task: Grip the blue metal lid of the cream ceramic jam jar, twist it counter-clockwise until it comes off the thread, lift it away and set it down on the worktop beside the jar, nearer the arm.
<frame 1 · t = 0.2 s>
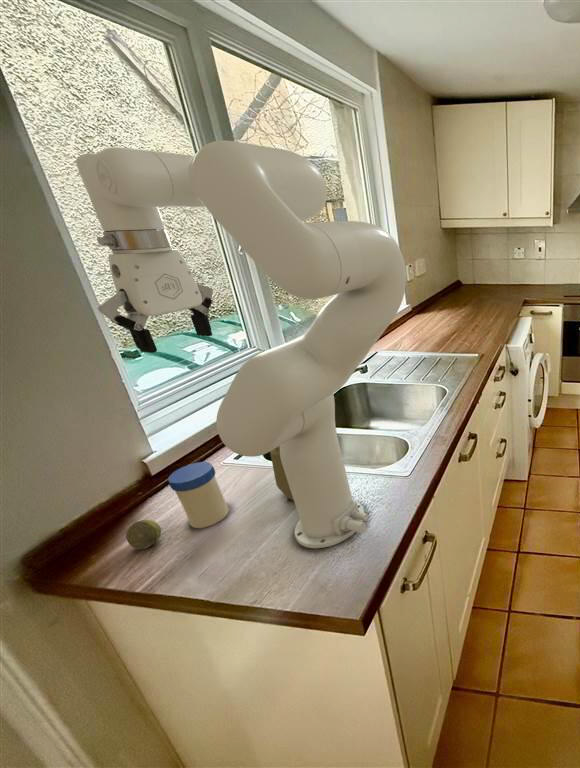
hand: (178, 343, 70), 36 cm above the counter, tool pointing down, fingers open, 9 cm apart
squeeze bottle: (301, 492, 87), on the counter
lime: (149, 544, 74), on the counter
lid: (191, 473, 76), point 11 cm above the counter, screwed on, not yet turned
jar: (210, 516, 80), on the counter
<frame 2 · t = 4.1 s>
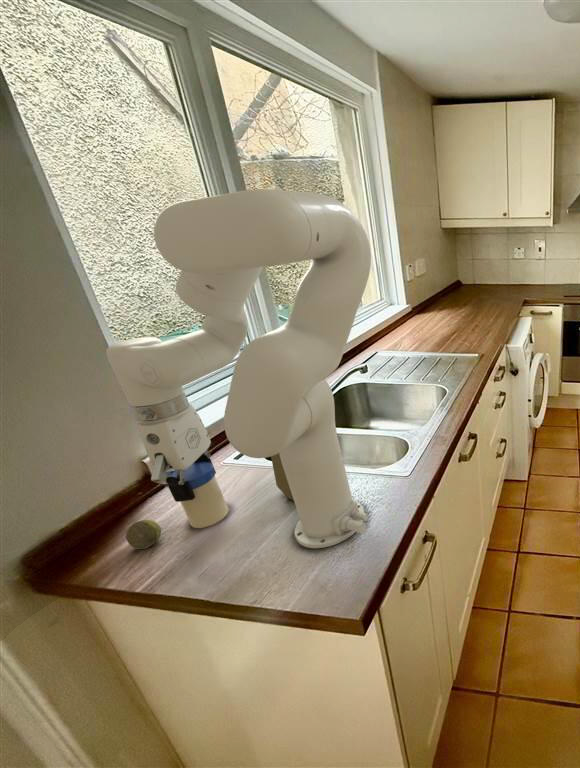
hand: (196, 486, 77), 8 cm above the counter, tool pointing down, fingers closed on lid, 6 cm apart
lid: (191, 473, 76), point 11 cm above the counter, screwed on, not yet turned, touching gripper
everything else where it was.
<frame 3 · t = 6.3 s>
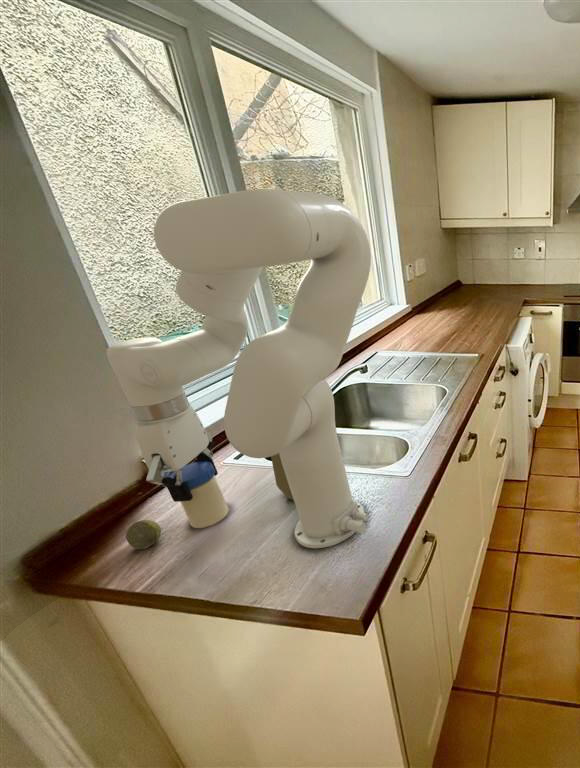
hand: (197, 486, 77), 8 cm above the counter, tool pointing down, fingers closed on lid, 6 cm apart
lid: (191, 473, 76), point 11 cm above the counter, off its thread, touching gripper
everything else where it was.
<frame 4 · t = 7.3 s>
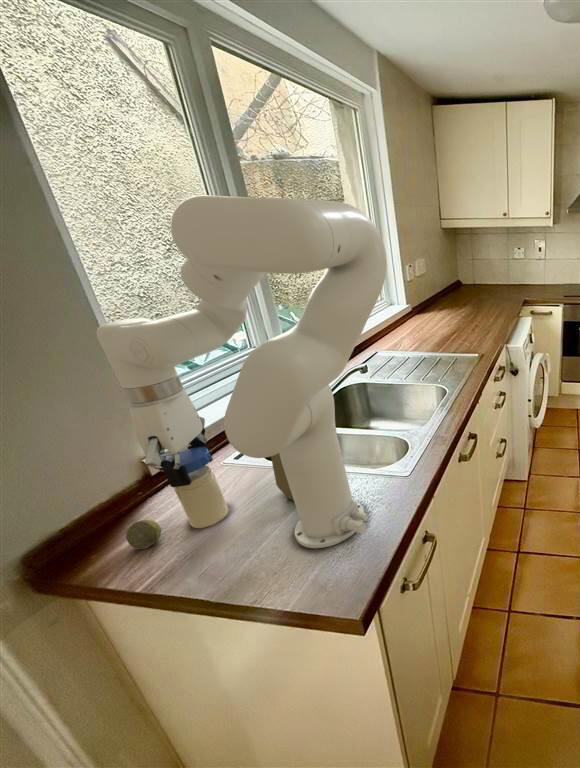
hand: (193, 472, 76), 11 cm above the counter, tool pointing down, fingers closed on lid, 6 cm apart
lid: (186, 458, 74), point 14 cm above the counter, off its thread, touching gripper
everything else where it was.
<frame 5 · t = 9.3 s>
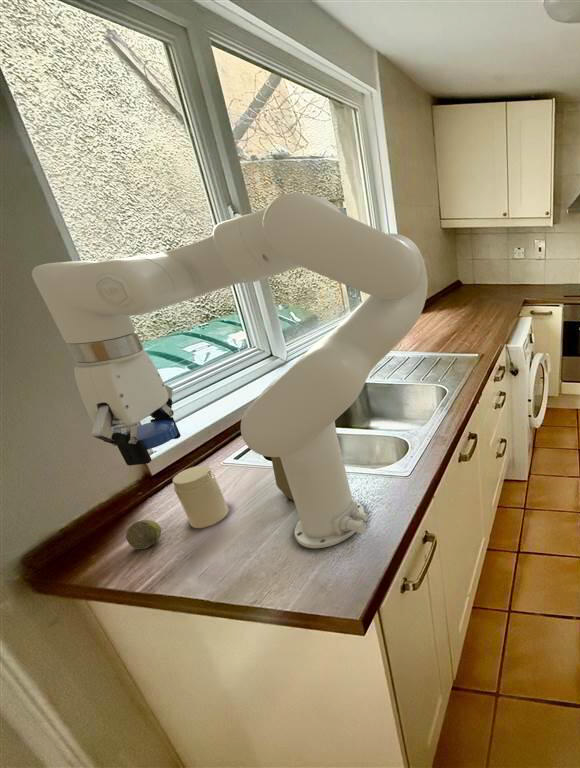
hand: (155, 449, 65), 21 cm above the counter, tool pointing down, fingers closed on lid, 6 cm apart
lid: (147, 432, 64), point 24 cm above the counter, off its thread, touching gripper
everything else where it was.
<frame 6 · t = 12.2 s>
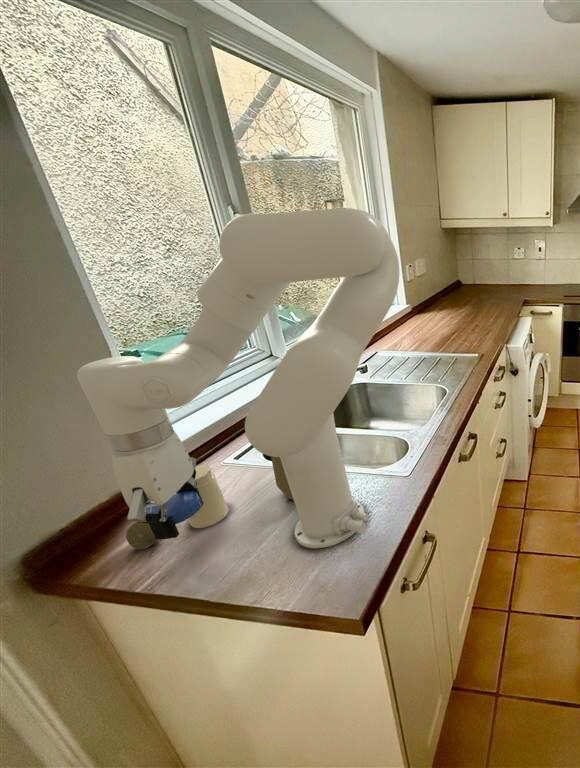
hand: (181, 520, 69), 7 cm above the counter, tool pointing down, fingers closed on lid, 6 cm apart
lid: (174, 506, 68), point 10 cm above the counter, off its thread, touching gripper
everything else where it was.
when the fingers open (0 cm above the counter, at t = 14.6 s): lid drops 2 cm, point 1 cm above the counter.
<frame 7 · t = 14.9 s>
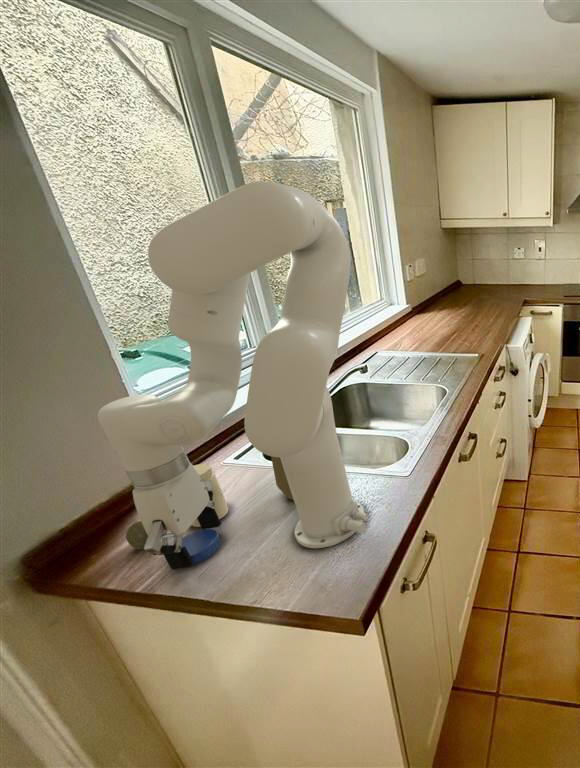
hand: (198, 545, 71), 1 cm above the counter, tool pointing down, fingers open, 9 cm apart
lid: (195, 544, 71), point 1 cm above the counter, off its thread
everything else where it was.
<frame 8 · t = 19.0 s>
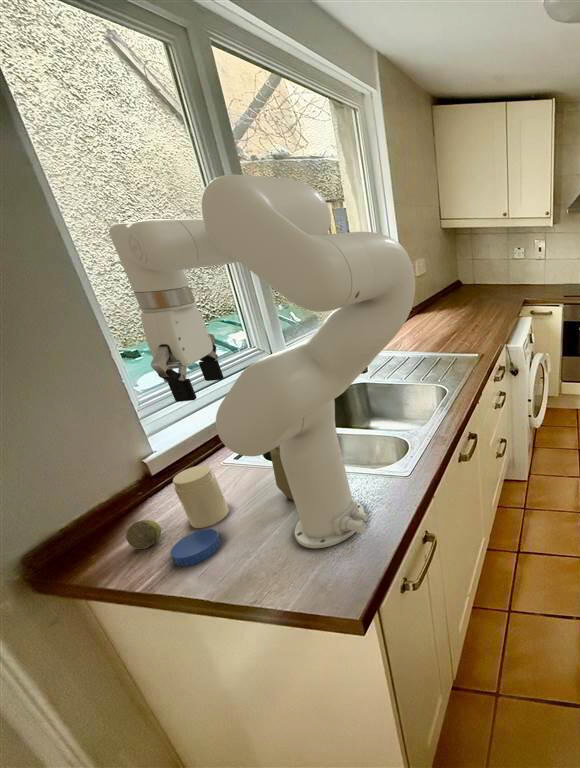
hand: (201, 389, 74), 26 cm above the counter, tool pointing down, fingers open, 9 cm apart
nothing on the counter moved.
at the end: lid point 1.5 cm above the counter; the gripper is holding nothing; lid moved 13.6 cm from its start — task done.
